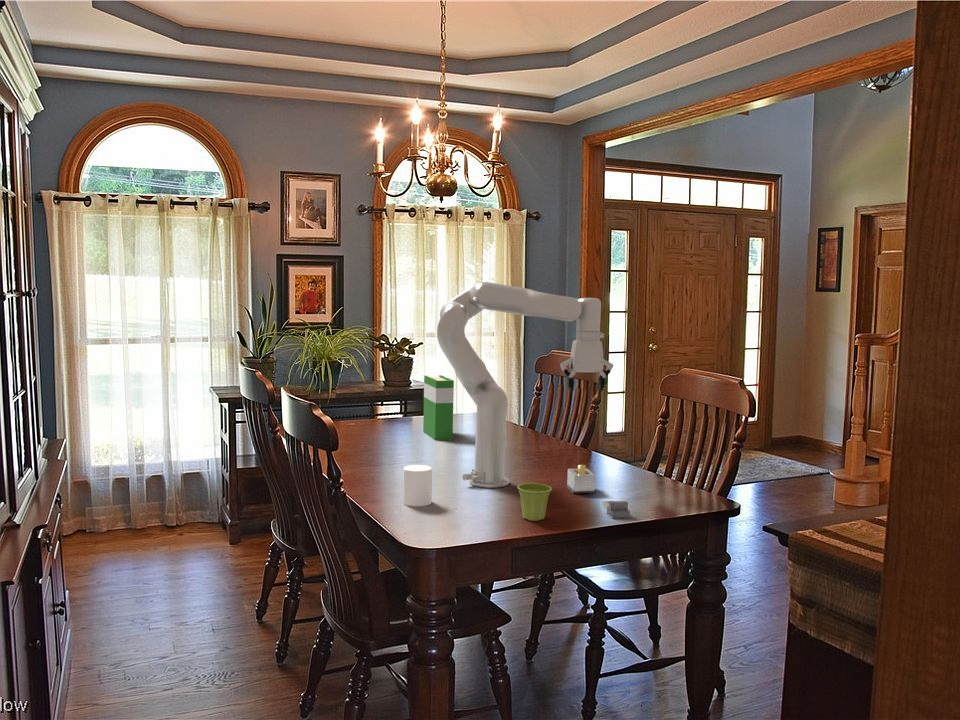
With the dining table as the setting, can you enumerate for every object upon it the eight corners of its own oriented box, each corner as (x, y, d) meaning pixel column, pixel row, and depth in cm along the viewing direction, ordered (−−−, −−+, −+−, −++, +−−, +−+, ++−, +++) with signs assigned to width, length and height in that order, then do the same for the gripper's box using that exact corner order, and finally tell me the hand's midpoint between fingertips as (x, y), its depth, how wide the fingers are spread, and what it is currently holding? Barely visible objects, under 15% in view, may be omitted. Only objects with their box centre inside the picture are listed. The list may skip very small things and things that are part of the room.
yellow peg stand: (594, 493, 252) (595, 468, 251) (572, 493, 251) (573, 468, 250) (588, 487, 259) (589, 462, 258) (566, 488, 258) (567, 463, 257)
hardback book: (423, 432, 344) (424, 375, 341) (440, 431, 346) (441, 375, 344) (434, 440, 327) (436, 380, 325) (452, 439, 330) (453, 380, 327)
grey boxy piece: (629, 518, 226) (630, 504, 226) (612, 518, 226) (612, 504, 225) (623, 513, 231) (624, 499, 231) (606, 513, 231) (607, 499, 230)
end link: (594, 490, 251) (595, 474, 250) (574, 491, 250) (574, 475, 249) (586, 484, 259) (587, 468, 259) (567, 484, 258) (567, 468, 258)
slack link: (620, 511, 233) (621, 506, 233) (608, 511, 232) (608, 506, 232) (614, 505, 239) (614, 500, 239) (602, 505, 238) (602, 500, 238)
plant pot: (548, 513, 229) (549, 483, 228) (552, 523, 220) (553, 491, 219) (515, 512, 229) (516, 482, 228) (518, 522, 220) (518, 491, 219)
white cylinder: (405, 471, 231) (399, 462, 242) (405, 507, 232) (399, 496, 243) (434, 470, 233) (427, 461, 244) (433, 506, 234) (426, 495, 245)
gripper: (610, 336, 265) (608, 388, 267) (558, 335, 263) (556, 388, 264) (617, 337, 258) (615, 391, 260) (564, 337, 255) (562, 391, 257)
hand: (585, 389), depth 262 cm, fingers open, 9 cm apart
